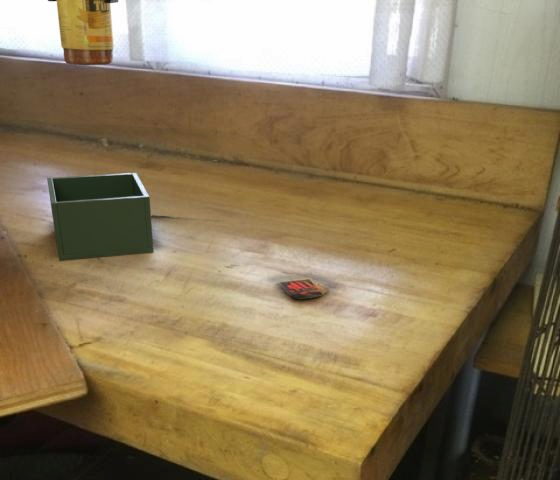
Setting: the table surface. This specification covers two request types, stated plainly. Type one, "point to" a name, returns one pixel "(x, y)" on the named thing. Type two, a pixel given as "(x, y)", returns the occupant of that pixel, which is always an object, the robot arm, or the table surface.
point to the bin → (100, 215)
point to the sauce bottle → (86, 31)
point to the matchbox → (303, 288)
